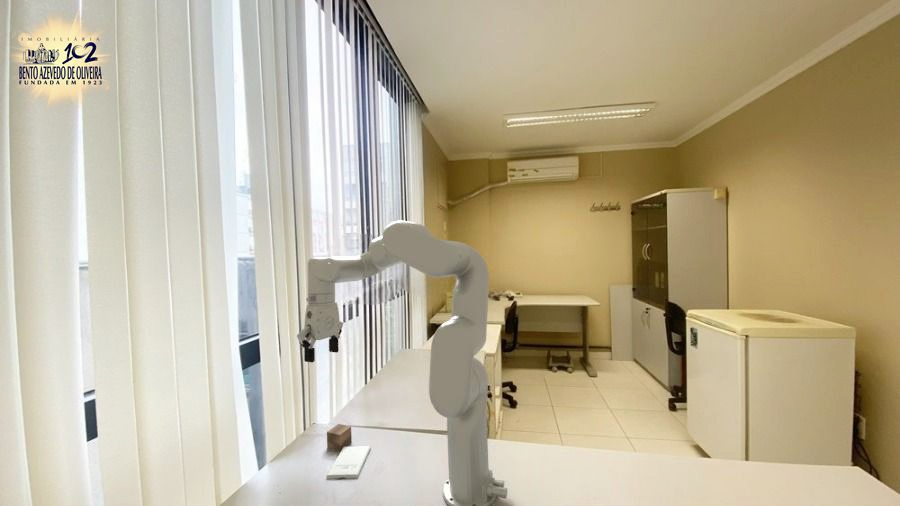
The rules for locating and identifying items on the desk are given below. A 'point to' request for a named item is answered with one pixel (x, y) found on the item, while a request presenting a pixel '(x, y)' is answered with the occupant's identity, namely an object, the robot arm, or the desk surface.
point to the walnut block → (339, 437)
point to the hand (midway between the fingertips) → (322, 356)
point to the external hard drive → (349, 462)
